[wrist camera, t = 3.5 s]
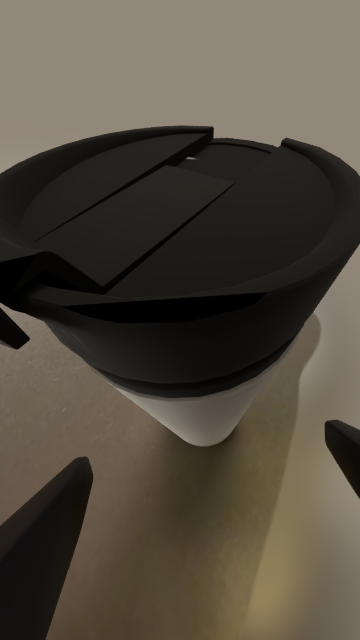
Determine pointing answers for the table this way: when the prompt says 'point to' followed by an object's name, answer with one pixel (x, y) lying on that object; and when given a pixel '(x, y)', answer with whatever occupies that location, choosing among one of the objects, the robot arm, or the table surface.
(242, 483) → the table surface
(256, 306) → the travel mug
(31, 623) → the robot arm
